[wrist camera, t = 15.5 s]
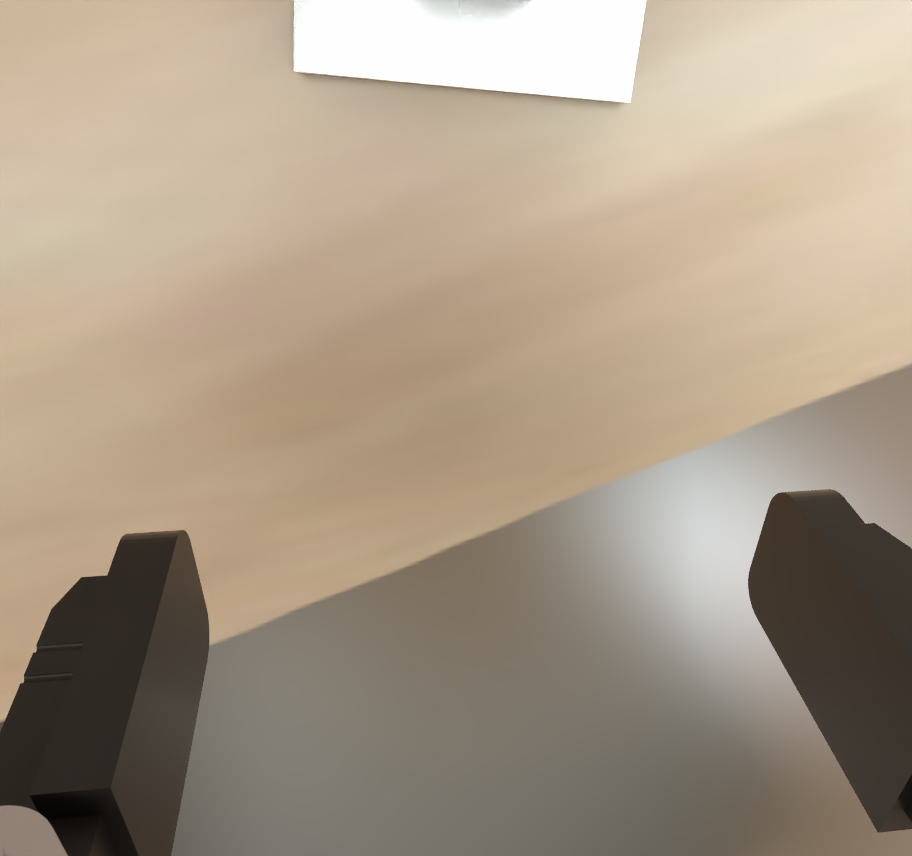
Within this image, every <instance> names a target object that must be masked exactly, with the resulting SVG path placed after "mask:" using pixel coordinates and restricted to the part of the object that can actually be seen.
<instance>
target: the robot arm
mask: <svg viewBox="0 0 912 856" xmlns="http://www.w3.org/2000/svg"><path fill="white" fill-rule="evenodd" d="M748 588H749V596H750V601H751V604H752V608H753V610H754V613H755V615H756V617H757V619H758V620H759V622H760V624H761V626H762V628H763V629H764V631H765V633H766V635H767V636H768V638H769V640H770V642H771V643H772V645H773V647H774V649H775V651H776V652H777V654H778V656H779V658H780V659H781V661H782V663H783V665H784V667H785V668H786V670H787V672H788V674H789V676H790V677H791V679H792V681H793V683H794V684H795V686H796V688H797V690H798V691H799V693H800V695H801V697H802V699H803V700H804V702H805V704H806V706H807V707H808V709H809V711H810V713H811V715H812V716H813V718H814V720H815V722H816V723H817V725H818V727H819V729H820V731H821V732H822V734H823V736H824V738H825V739H826V741H827V743H828V745H829V746H830V748H831V750H832V752H833V753H834V755H835V757H836V759H837V761H838V762H839V764H840V766H841V768H842V770H843V771H844V773H845V775H846V777H847V778H848V780H849V782H850V784H851V786H852V787H853V789H854V791H855V793H856V794H857V796H858V798H859V800H860V802H861V803H862V805H863V807H864V809H865V810H866V812H867V814H868V816H869V817H870V819H871V821H872V823H873V825H874V826H875V828H876V830H877V832H888V831H897V830H906V829H912V549H911V548H910V547H909V546H907V545H906V544H904V543H903V542H901V541H900V540H898V539H897V538H895V537H894V536H892V535H891V534H890V533H888V532H887V531H885V530H884V529H882V528H881V527H879V526H878V525H876V524H875V523H872V524H865V523H864V521H863V520H862V519H861V518H860V517H859V515H858V514H857V513H856V512H855V511H854V509H853V508H852V507H851V506H850V504H849V503H848V502H847V501H846V499H845V498H844V497H843V496H842V495H841V494H840V493H838V492H837V491H835V490H830V489H828V490H814V491H813V490H812V491H797V492H783V493H778V494H776V495H775V496H774V497H773V498H772V500H771V502H770V505H769V508H768V511H767V514H766V518H765V521H764V524H763V527H762V531H761V535H760V538H759V541H758V544H757V548H756V551H755V554H754V557H753V561H752V564H751V567H750V572H749V578H748ZM36 646H37V651H36V653H33V655H32V657H31V660H30V662H29V665H28V667H27V669H26V672H25V674H24V683H21V684H20V686H19V689H18V691H17V693H16V696H15V698H14V701H13V703H12V705H11V708H10V710H9V713H8V715H7V717H6V720H5V722H4V725H3V727H2V729H1V732H0V856H171V852H172V848H173V842H174V837H175V831H176V826H177V820H178V815H179V810H180V804H181V799H182V793H183V788H184V783H185V778H186V772H187V767H188V761H189V756H190V751H191V745H192V739H193V734H194V729H195V724H196V718H197V713H198V707H199V702H200V697H201V691H202V686H203V680H204V675H205V669H206V664H207V658H208V650H209V621H208V613H207V608H206V604H205V600H204V596H203V592H202V587H201V583H200V579H199V575H198V571H197V567H196V563H195V558H194V554H193V550H192V546H191V542H190V539H189V536H188V534H187V532H186V531H184V530H179V531H163V532H148V533H133V534H125V535H124V536H123V537H122V538H121V540H120V542H119V544H118V547H117V550H116V553H115V556H114V558H113V561H112V564H111V567H110V570H109V572H108V575H107V576H95V577H81V578H80V580H79V581H78V582H77V583H76V584H75V585H74V586H73V587H72V588H71V589H70V590H69V591H68V592H67V593H66V594H65V596H64V597H63V598H62V599H61V600H60V601H59V602H58V603H57V604H56V605H55V606H54V607H53V608H52V609H51V612H50V614H49V617H48V619H47V621H46V624H45V626H44V629H43V631H42V633H41V636H40V638H39V641H38V643H37V645H36Z"/></svg>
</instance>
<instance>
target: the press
mask: <svg viewBox="0 0 912 856" xmlns="http://www.w3.org/2000/svg"><path fill="white" fill-rule="evenodd" d="M645 4H646V0H294V71H295V72H299V73H304V74H315V75H325V76H336V77H347V78H358V79H368V80H379V81H390V82H401V83H411V84H422V85H433V86H443V87H454V88H465V89H476V90H486V91H497V92H508V93H519V94H529V95H540V96H551V97H562V98H572V99H583V100H594V101H605V102H615V103H630V101H631V94H632V88H633V81H634V75H635V68H636V62H637V56H638V49H639V43H640V36H641V30H642V24H643V17H644V11H645Z"/></svg>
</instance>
